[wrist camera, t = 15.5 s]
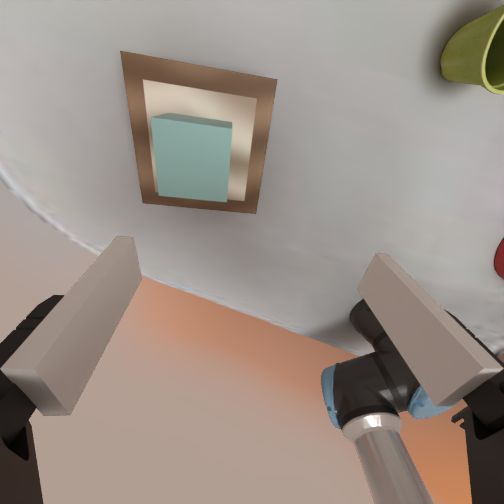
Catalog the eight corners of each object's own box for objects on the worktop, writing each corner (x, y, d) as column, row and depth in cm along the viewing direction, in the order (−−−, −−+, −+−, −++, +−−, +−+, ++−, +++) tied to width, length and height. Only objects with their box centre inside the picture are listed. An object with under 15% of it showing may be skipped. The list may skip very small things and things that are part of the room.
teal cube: (227, 182, 30) (226, 202, 24) (173, 176, 29) (158, 195, 23) (232, 121, 26) (232, 128, 20) (169, 112, 25) (150, 117, 19)
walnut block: (252, 194, 40) (256, 215, 33) (158, 184, 37) (141, 204, 30) (267, 83, 31) (278, 79, 24) (145, 61, 28) (118, 50, 22)
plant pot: (412, 89, 32) (463, 86, 25) (455, -6, 27) (534, -43, 20) (467, 100, 34) (530, 100, 27) (517, 12, 28) (613, -17, 21)
